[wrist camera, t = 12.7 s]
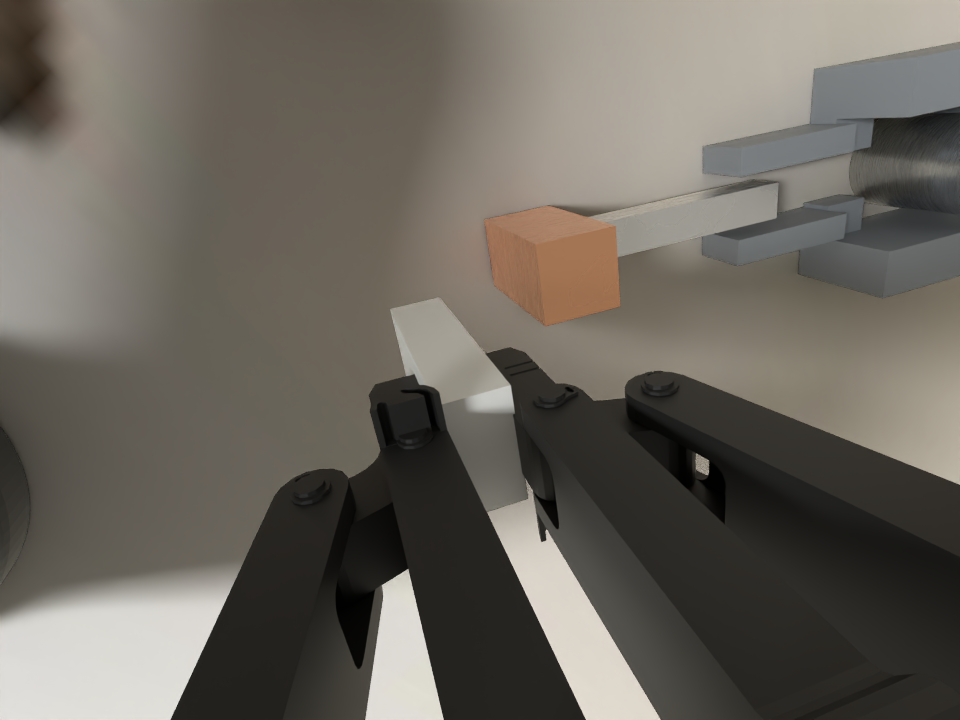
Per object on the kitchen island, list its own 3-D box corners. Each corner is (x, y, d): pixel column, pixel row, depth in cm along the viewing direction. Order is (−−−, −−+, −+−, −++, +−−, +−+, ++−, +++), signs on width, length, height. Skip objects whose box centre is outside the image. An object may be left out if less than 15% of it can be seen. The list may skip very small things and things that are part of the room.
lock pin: (494, 285, 26) (545, 326, 20) (484, 219, 24) (535, 244, 19) (739, 225, 28) (842, 247, 23) (741, 163, 27) (850, 171, 22)
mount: (702, 300, 29) (773, 330, 25) (703, 89, 25) (789, 81, 21) (943, 234, 33) (1044, 251, 28) (979, 38, 28) (1104, 21, 24)
